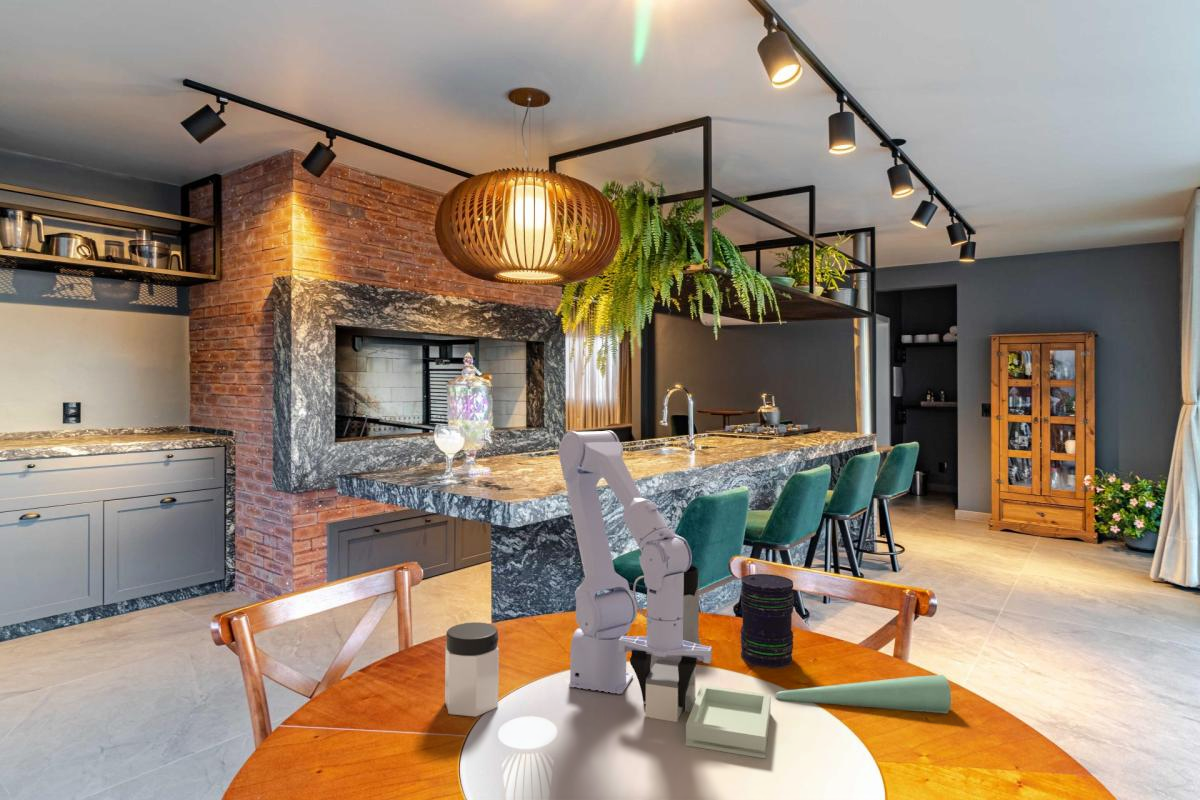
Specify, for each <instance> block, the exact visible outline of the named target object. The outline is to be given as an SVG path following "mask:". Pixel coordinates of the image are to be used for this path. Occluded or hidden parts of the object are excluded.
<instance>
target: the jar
mask: <svg viewBox="0 0 1200 800" xmlns="http://www.w3.org/2000/svg"><path fill="white" fill-rule="evenodd" d="M498 631H499V630H498V628H497V627H496V626H495V625H493V624H490V623H487V622H477V621H476V622H464V623H460V624H457V625H454V626H451V627H449V628H448V630H447V631H446V644H445V662H444V663H445V665H444V667H445V668H444V672H445V673H444V674H445V675H444V676H445V678H444V684H445V685H444V703H445V706H446V710H447V712H448V715H452V716H462V717H463V716H465V717H473V718H475V717H479V716H481V715H483V714H485V713H487V712H490V711H492V710H494V709H496V708H498V707H499V683H500V681H499V675H500V674H499V672H500V671H499V670H500V669H499V668H500V666H499V665H500V664H499V663H500V661H499V660H500V648H499V647H498V642H499V634H498V633H499V632H498Z"/></svg>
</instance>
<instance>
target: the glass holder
mask: <svg viewBox="0 0 1200 800" xmlns="http://www.w3.org/2000/svg"><path fill="white" fill-rule="evenodd" d="M683 573H684V594H683V640H684V641H688V642H692V643H696V644H699V645H701V643H702V642H701V639H700V636H699V623H700V622H699V620H700V619H699V618H700V617H699V614H700V613H699V610H700V609H699V607H700V604H699V603H700V581H699V568H698V567H697V566H695V565H692V564H691V565H690V567H689V569H688V570H687V571H685V572H683ZM641 579H644V575H640V576H638V577H637V578H635V581H634V583H633V588H632V591H633V592H632V595H633V597H634V599H635V601H636V605H637V611H639V613H640V614H642V616H643V617H644V618H646V619H647V614H646V613H644V612H643V610H642V609H641V607H640V605H639V603H638V600H637V595H636V585H637V583H638V582H639V581H640V580H641Z"/></svg>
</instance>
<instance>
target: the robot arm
mask: <svg viewBox="0 0 1200 800" xmlns="http://www.w3.org/2000/svg"><path fill="white" fill-rule="evenodd" d="M560 441H561V442H560V444H559V447H558V448H557V449H558V450H557V451H558V456H559V457H558V458H559V461H560V467H561V472H562V477H563V480H564V481H565V485H566V491H567V495H568V496H567V497H568V500H569V501H568V502H569V505H570V510H571V514H572V521H573V524H574V530H575V534H576V539H577V544H578V549H579V554H580V559H581V565H582V570H583V573H584V577H585V578H584V579H583V581H582V582H581V584H580V585H579V586H578V587H577V588H576V590H575V592H574V596H575V620H576V623H577V625H578V628H576V629H575V631H574V632H573V635H572V638H571V644H570V664H569V665H570V670H569V671H570V673H569V674H570V675H569V677H570V678H569V681H570V682H569V683H568V686H569V687H570V686H571V687H570V688H574V687H577V689H581V688H583V689H582V690H588V689H591V690H590V691H595V690H599V691H598V692H601V691H604V693H608V692H610V693H609V694H615V693H617V694H616V695H622V694H623V693H624V692H625V689H626V688H627V687H628V685H629V683H630V682H631V680H632V679H633V677H634V674H635V675H636V678H637V681H638V685H639V686H640V687H639V688H640V691H641V696H642V702H643V701H644V702H646V678H647V676H648V674H649V672H650V665H651V654H653V655H654V656H660V657H666V656H669V657H677V658H682V659H681V661H680V662H679V664H678V673H679V696H678V707H683V706H684V707H685V704H684V703H685V697H686V692H687V688H688V684H689V681H690V678H691V675H692V673H693V671H694V669H695V667H697V664H698V662H699V661H702V662H703V664H710V663H711V661H712V658H713V657H712V656H713V655H712V653H713V651H712V650H713V649H712V648H713V647H712V646H708V645H705V644H704V645H703V644H700V645H699V644H696V643H692V642H688V641H684V640H683V594H684V573H683V572H685V571H687V570H688V569H689V567H690V565H692V561H693V555H692V550H691V547H690V546H689V543H688V541H687V540H686V538H684V537H682V536H680V535H678V534H676V532H675V531H672V530H670V528H669V526H668V525H667V523H666V520H664V518H663V516H662V515H661V513H660V512H659V510H658V507H657V505H656V503H655V502H653V500H651V499H649V498H648V499H647V498H643V497H642V494H641V492H640V490H639V489H638V486H637V484H636V482H635V481H634V479H633V476H632V475H631V473H630V470H629V469H628V467H627V465H626V462H625V461H624V459H623V455H624V446H623V443H621V442H620V439H619V437H618V435H617V434H616V433H615V432H614V431H612V430H603V431H602V430H601V431H575V430H574V431H573V430H570V431H568V432H566V433H565V434H564V435H563V438H562V439H561V440H560ZM601 479H603V480H604V481H605V482H606V484H607V485H608V487H609V488H610V489H611V491H612V492H613V493H614V495H615V497H616V499H618V501H619V502H620V504H621V505H622V507H623V512H622V520H623V522H624V524H625V526H626V527H627V529H628V531H629V533H630V535H631V536H632V538H633V539H634V541H635V542H636V544H637V546H638V548H639V550H640V552H641V554H640V555H639V556H638V558H639V559H638V560H639V561H638V562H639V566H640V568H641V571H642V572H643V576H644V578H643V579H644V580H643V581H644V584H645V587H646V593H647V594H646V616H647V618H646V636H628V634H627V633H628V632H630V631H631V625H632V624H633V623H634V622H635V621H636V618H637V615H638V608H637V605H636V601H635V599H634V596H633V592H632V591H631V589H630V585H629V582H628V580H627V579H625V578H624V577H623V576H621V575H620V574H618V572H616V570H615V566H614V561H613V557H612V552H611V548H610V543H609V538H608V535H607V531H606V530H607V529H606V524H605V522H604V521H605V520H604V515H603V512H602V508H601V501H600V498H599V494H598V488H597V485H598V483H599V481H600V480H601ZM603 591H608V592H603ZM599 592H603V593H600V594H597V593H599ZM627 652H631V656H630V658H629V663H630V666H631V667H632V669H633V671H634V674H633V673H631V672H627V658H628V656H627ZM684 707H683V708H684Z"/></svg>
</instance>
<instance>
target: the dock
mask: <svg viewBox="0 0 1200 800" xmlns="http://www.w3.org/2000/svg"><path fill="white" fill-rule="evenodd" d="M681 659H682V658H677V657H669V656H666V657H660V656H654V655H653V654H651V665H650V671H651V669H652V667H653V666H654V664H655V662H656V661H657V660H663V661H670V662H678V663H679V662H680V661H681ZM696 667H697V666H696ZM696 667H695V669H694V671H693V673H692V675H691V678H690V681H689V684H688V688H687V692H686V697H685V704H684V712H689V713H691V710H692V708H693V705H694V702H695V700H696V682H697V681H696V679H697V678H696V675H697V674H696V672H697V669H696ZM642 702H643V703H642V704H646V702H644V701H643V700H642Z"/></svg>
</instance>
